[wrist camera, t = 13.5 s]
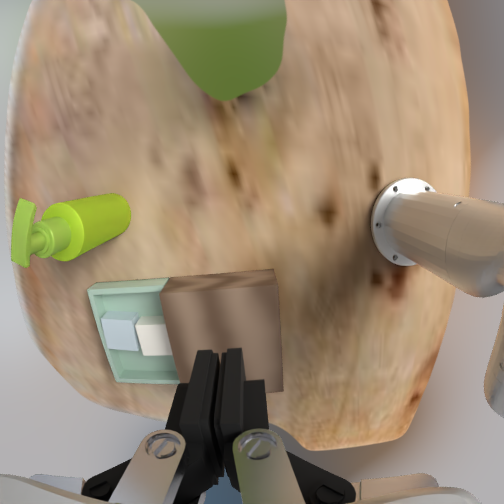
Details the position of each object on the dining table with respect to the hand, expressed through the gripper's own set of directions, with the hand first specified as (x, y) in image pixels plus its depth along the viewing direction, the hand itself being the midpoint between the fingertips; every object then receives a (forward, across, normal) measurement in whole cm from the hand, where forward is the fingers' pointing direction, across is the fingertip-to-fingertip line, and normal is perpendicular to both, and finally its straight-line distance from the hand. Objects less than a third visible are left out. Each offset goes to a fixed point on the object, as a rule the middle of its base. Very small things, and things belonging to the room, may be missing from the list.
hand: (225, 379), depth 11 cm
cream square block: (+28, +13, +13) cm, 34 cm away
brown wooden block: (+29, +3, +13) cm, 32 cm away
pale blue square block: (+26, +18, +12) cm, 34 cm away
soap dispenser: (+29, +17, -5) cm, 34 cm away
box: (+29, +16, +13) cm, 36 cm away
